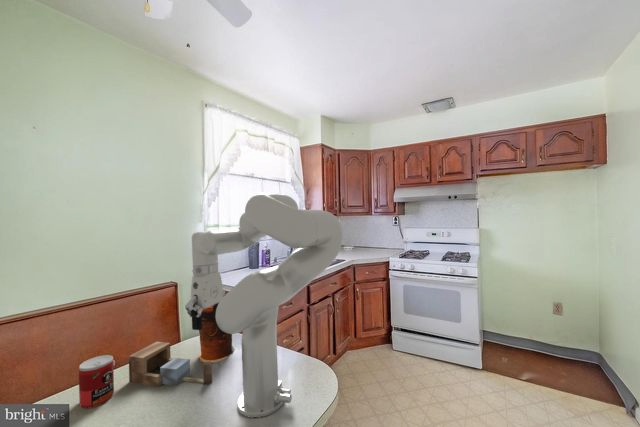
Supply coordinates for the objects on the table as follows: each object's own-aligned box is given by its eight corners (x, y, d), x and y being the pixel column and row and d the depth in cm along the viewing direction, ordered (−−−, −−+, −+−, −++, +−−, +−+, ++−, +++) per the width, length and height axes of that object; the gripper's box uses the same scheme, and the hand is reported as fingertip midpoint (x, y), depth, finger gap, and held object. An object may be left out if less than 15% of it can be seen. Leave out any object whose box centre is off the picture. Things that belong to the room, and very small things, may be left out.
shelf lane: (184, 368, 91) (183, 344, 92) (158, 387, 81) (157, 360, 82) (157, 364, 95) (156, 341, 95) (129, 381, 85) (128, 356, 85)
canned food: (94, 410, 72) (93, 369, 72) (71, 407, 74) (70, 367, 74) (120, 392, 80) (120, 355, 80) (99, 390, 81) (98, 354, 82)
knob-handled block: (217, 377, 85) (216, 358, 85) (204, 389, 79) (204, 369, 79) (175, 372, 89) (174, 354, 89) (160, 383, 83) (160, 364, 83)
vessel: (191, 352, 103) (191, 300, 104) (227, 341, 111) (227, 294, 112) (200, 367, 91) (199, 309, 92) (240, 354, 100) (239, 301, 101)
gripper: (196, 275, 76) (198, 335, 75) (231, 265, 92) (234, 314, 92) (174, 275, 78) (177, 334, 77) (213, 265, 94) (215, 313, 94)
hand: (208, 323), depth 84 cm, fingers open, 9 cm apart
